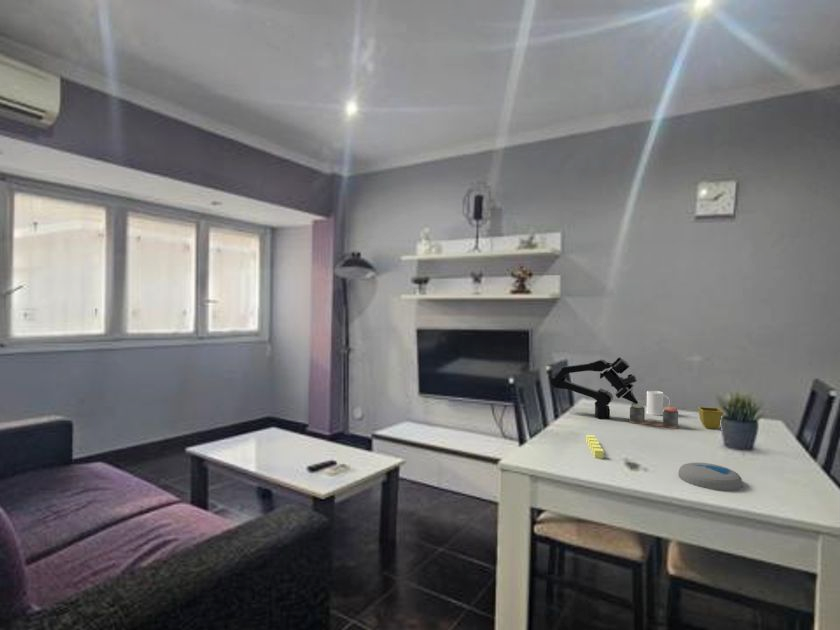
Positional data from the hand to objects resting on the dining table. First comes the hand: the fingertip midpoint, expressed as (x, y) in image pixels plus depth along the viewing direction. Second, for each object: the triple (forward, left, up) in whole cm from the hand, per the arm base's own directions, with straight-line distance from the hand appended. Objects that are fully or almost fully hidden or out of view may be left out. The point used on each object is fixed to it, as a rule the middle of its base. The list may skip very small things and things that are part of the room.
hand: (637, 403), depth 241 cm
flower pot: (+30, -13, -10) cm, 34 cm away
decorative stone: (-22, -78, -10) cm, 81 cm away
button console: (+6, -5, -10) cm, 12 cm away
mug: (+22, +16, -10) cm, 29 cm away
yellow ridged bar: (-42, -41, -10) cm, 60 cm away
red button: (+12, -10, -6) cm, 16 cm away
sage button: (0, 0, -6) cm, 6 cm away
